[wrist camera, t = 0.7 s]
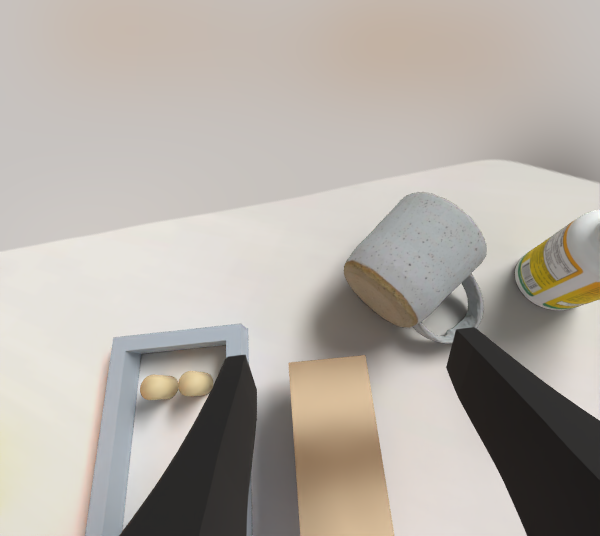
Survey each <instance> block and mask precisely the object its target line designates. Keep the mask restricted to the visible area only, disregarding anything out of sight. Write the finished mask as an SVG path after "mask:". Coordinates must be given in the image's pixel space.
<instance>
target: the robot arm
mask: <svg viewBox="0 0 600 536" xmlns="http://www.w3.org/2000/svg"><path fill="white" fill-rule="evenodd" d="M446 368H447V371H448V373H449V376H450V378H451V381H452V384H453V386H454V388H455V391H456V393H457V395H458V398H459V400H460V401H461V403H462V405H463V407H464V409H465V411H466V413H467V414H468V416H469V418H470V420H471V422H472V424H473V425H474V427H475V429H476V431H477V433H478V434H479V436H480V438H481V440H482V442H483V443H484V445H485V447H486V449H487V451H488V453H489V454H490V456H491V458H492V460H493V462H494V463H495V465H496V467H497V469H498V471H499V473H500V475H501V477H502V479H503V481H504V483H505V486H506V488H507V490H508V492H509V495H510V497H511V499H512V501H513V504H514V506H515V508H516V510H517V512H518V515H519V517H520V519H521V522H522V524H523V527H524V529H525V531H526V534H527V536H600V421H599V420H598V419H596V418H595V417H593V416H592V415H590V414H589V413H587V412H586V411H584V410H583V409H581V408H580V407H578V406H577V405H576V404H574V403H573V402H571V401H570V400H568V399H567V398H566V397H564V396H563V395H561V394H560V393H558V392H557V391H556V390H554V389H553V388H552V387H550V386H549V385H548V384H546V383H545V382H543V381H542V380H541V379H539V378H538V377H537V376H536V375H534V374H533V373H532V372H530V371H529V370H528V369H526V368H525V367H524V366H522V365H521V364H520V363H519V362H517V361H516V360H515V359H514V358H512V357H511V356H510V355H509V354H507V353H506V352H505V351H503V350H502V349H501V348H500V347H499V346H497V345H496V344H495V343H494V342H492V341H491V340H490V339H489V338H487V337H486V336H485V335H484V334H482V333H481V332H480V331H479V330H477V329H476V328H475V327H471V328H462V329H456V332H455V335H454V339H453V343H452V347H451V351H450V355H449V359H448V363H447V367H446ZM256 421H257V389H256V386H255V383H254V380H253V377H252V373H251V370H250V367H249V364H248V361H247V358H246V355H236V356H228V357H227V358H226V359H225V361H224V364H223V366H222V368H221V370H220V373H219V375H218V377H217V379H216V381H215V383H214V386H213V388H212V390H211V392H210V394H209V396H208V398H207V400H206V402H205V403H204V405H203V407H202V409H201V411H200V413H199V415H198V417H197V419H196V421H195V422H194V424H193V426H192V428H191V429H190V431H189V433H188V434H187V436H186V438H185V440H184V441H183V443H182V445H181V446H180V448H179V450H178V452H177V453H176V455H175V456H174V458H173V460H172V461H171V463H170V464H169V466H168V467H167V469H166V471H165V472H164V474H163V475H162V477H161V478H160V480H159V481H158V483H157V484H156V486H155V487H154V489H153V490H152V491H151V493H150V494H149V496H148V497H147V498H146V500H145V501H144V503H143V504H142V505H141V507H140V508H139V510H138V511H137V512H136V514H135V515H134V517H133V518H132V519H131V521H130V522H129V523H128V525H127V526H126V527H125V529H124V530H123V531H122V533H121V534H120V535H119V536H247V507H248V494H249V485H250V476H251V467H252V458H253V449H254V440H255V431H256Z"/></svg>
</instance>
